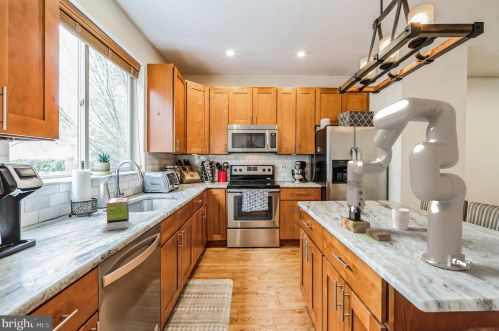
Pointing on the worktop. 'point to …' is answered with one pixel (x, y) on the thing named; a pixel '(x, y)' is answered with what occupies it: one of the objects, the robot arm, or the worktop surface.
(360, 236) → the mat
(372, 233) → the walnut bar
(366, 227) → the slot block
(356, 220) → the silver cylinder
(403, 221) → the white cup
